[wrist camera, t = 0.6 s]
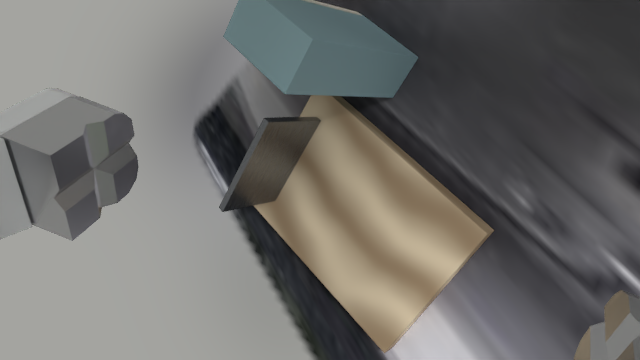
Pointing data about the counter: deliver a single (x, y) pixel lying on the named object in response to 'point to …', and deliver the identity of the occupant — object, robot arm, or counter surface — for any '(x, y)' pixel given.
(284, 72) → the tall teal pillar
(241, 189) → the bookend
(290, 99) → the counter surface
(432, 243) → the shelf board
